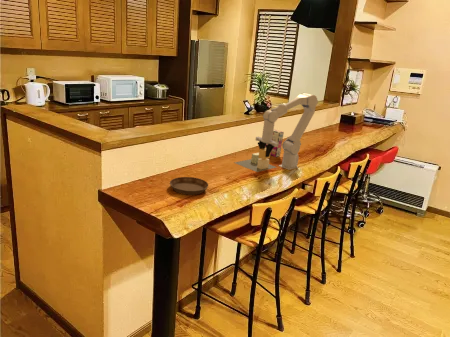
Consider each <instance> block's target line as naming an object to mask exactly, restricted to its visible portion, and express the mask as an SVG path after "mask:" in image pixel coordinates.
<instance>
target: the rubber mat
mask: <svg viewBox="0 0 450 337" xmlns="http://www.w3.org/2000/svg"><path fill="white" fill-rule="evenodd" d="M233 163H234V164H235V165H239V166H241V167H243V168H245V169H248V170H251V171H253V172H256V173H259V172H263V171H267V170H271V169H275V168H276V169H277V166H275V165H272V164H270V163H269V167H268V168H266V169H259V168H257V164H258V163H256V164H255V163H253V162H251V159H246V160H245V159H244V160H240V161H235V162H233Z"/></svg>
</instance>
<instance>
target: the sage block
mask: <svg viewBox="0 0 450 337" xmlns="http://www.w3.org/2000/svg"><path fill="white" fill-rule="evenodd" d="M258 156H259V152H256V153H255V152H254V153H251V162H253V163H255V164H256V163H258V159H261V158H258Z"/></svg>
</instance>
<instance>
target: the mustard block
mask: <svg viewBox="0 0 450 337" xmlns="http://www.w3.org/2000/svg"><path fill="white" fill-rule="evenodd" d="M258 153H259V156H258V158H261V159H270V158H271V156H270V155H269V157H266V148H263V149H259V150H258ZM270 153H271V152H270Z"/></svg>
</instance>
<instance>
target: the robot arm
mask: <svg viewBox="0 0 450 337" xmlns="http://www.w3.org/2000/svg"><path fill="white" fill-rule="evenodd" d="M318 103H319V100H318V97H317V96H316V94H315V95H314V94H310V93H307V92H302V93H300V94H298V95H297V96H296V97H294V98H293V99H292V100H289V101H288V102H287V103H285V104H284V103H279V104H278V105H277V106H276V107H273V108H271V109H267V110H265V111H264V113H263V114H262V118H263V128H262V134H261V136H256V137H255V141H256V142H257V141H258V142H257V146H258V148H259V149H263V148H265V146H266V157H269V155H270V152H271V151H272V149H273V148H274V147H277V146H278V143H276V142H274V141H272V137H273V130H275V123H276V122H277V121H278V119H279V118H280V117H282V116H284V115H286V114H288V111H289V110H291V109H293V108H295V107H297V106H299V105H301V107H302V108H303V113H302V115H301V117H300V118H299V121H298V123H297V124H296V126H295V128H294V130H293V131H292V134H291V135H290V136H287V138H286V139H285V140H284V141H282V146H281V148H282V149H283V154H282V162H281V164H279V165H278V167H280V168H282V169H286V170H293V169H297V168H299V166H298V163H299V154H298V153H300V149H301V146H302V142H301V139H302V137H303V135H304V133H305V131H306V130H307V127H308V126H309V125H310V122H311V120H312V118H313V117H314V114H315V112H316V107H317V105H318ZM266 144H268V145H266Z"/></svg>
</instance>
